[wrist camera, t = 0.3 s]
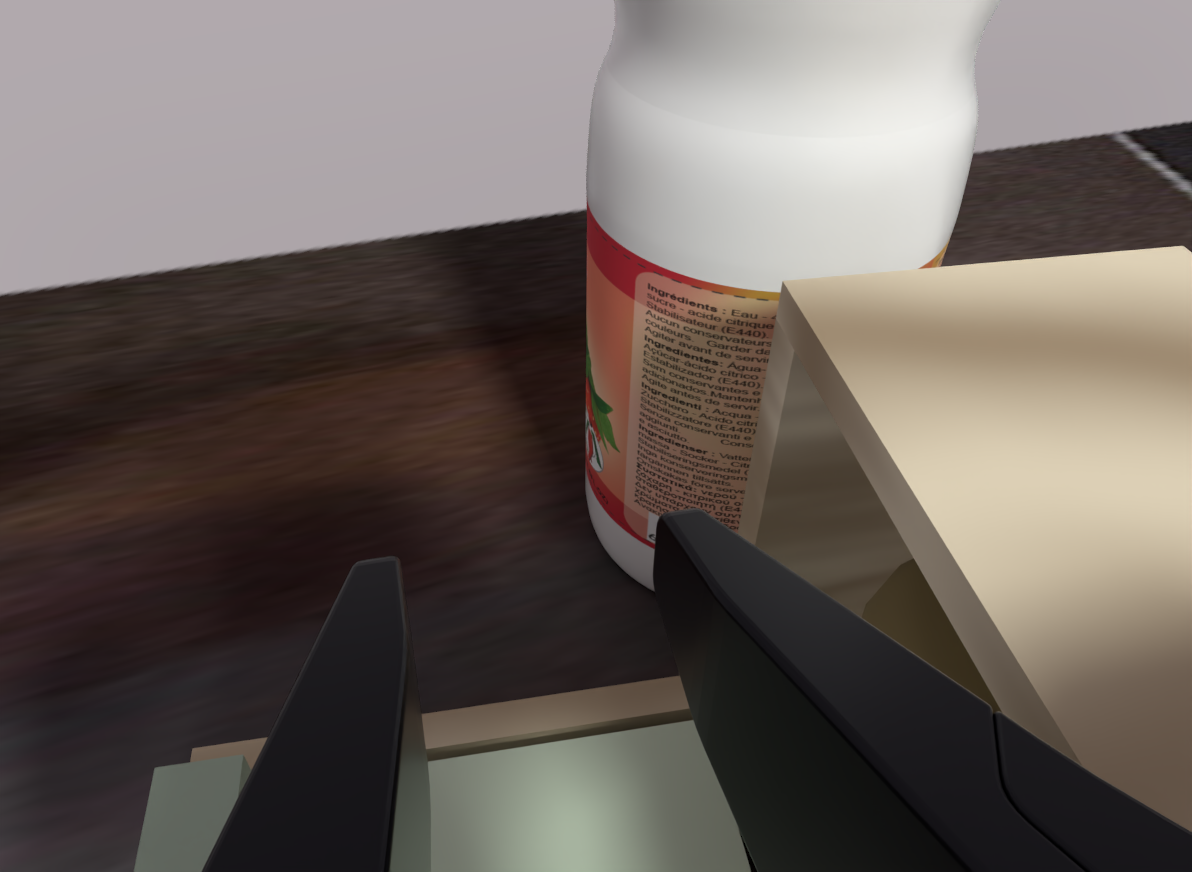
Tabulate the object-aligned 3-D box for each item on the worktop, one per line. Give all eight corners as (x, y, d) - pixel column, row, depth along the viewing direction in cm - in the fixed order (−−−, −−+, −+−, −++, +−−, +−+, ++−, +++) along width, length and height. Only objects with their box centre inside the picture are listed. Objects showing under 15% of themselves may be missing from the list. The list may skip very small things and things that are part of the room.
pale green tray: (1163, 1042, 19) (1338, 930, 15) (204, 1259, 16) (66, 1201, 12) (978, 707, 25) (1063, 556, 21) (253, 825, 22) (172, 680, 18)
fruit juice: (733, 675, 26) (1117, -1181, 7) (529, 504, 31) (454, -857, 13) (907, 517, 31) (1405, -851, 12) (707, 392, 36) (843, -712, 17)
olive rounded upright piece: (1062, 913, 21) (1316, 649, 14) (907, 1102, 19) (1123, 896, 11) (864, 732, 25) (984, 445, 18) (708, 867, 22) (772, 594, 15)
